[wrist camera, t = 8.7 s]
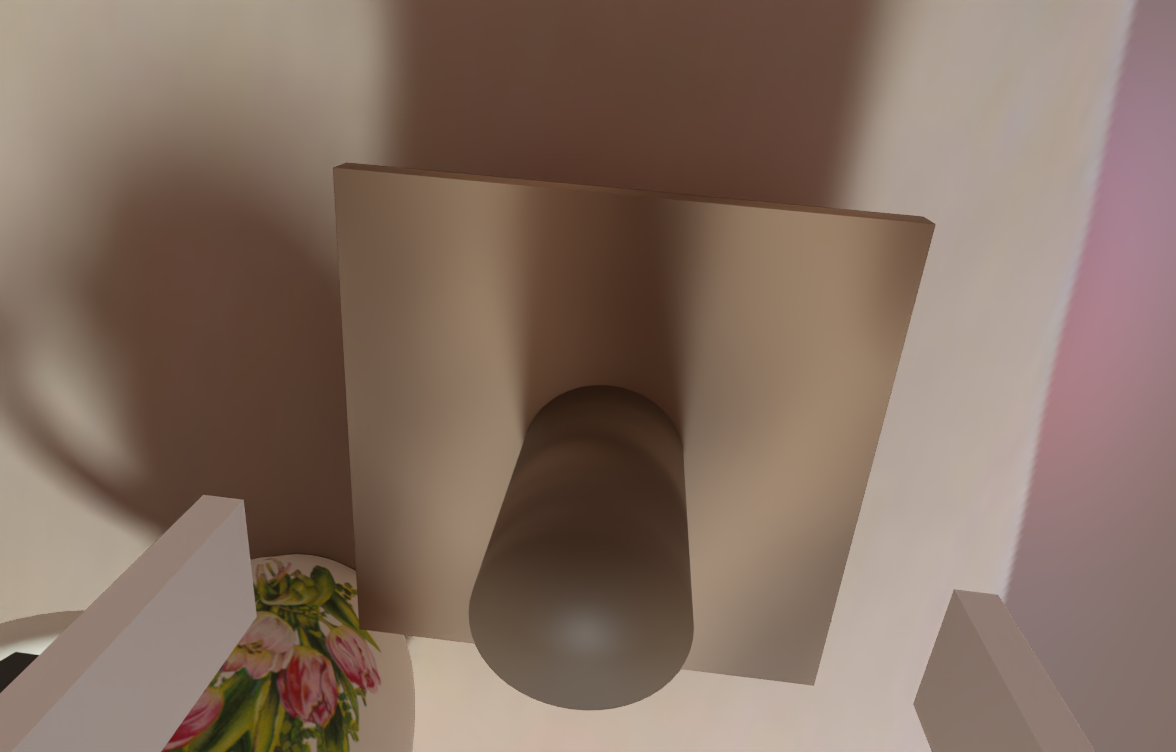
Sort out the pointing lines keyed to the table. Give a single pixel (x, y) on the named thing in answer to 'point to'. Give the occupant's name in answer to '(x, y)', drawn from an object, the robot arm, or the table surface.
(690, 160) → the table surface
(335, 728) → the pitcher
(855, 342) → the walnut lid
